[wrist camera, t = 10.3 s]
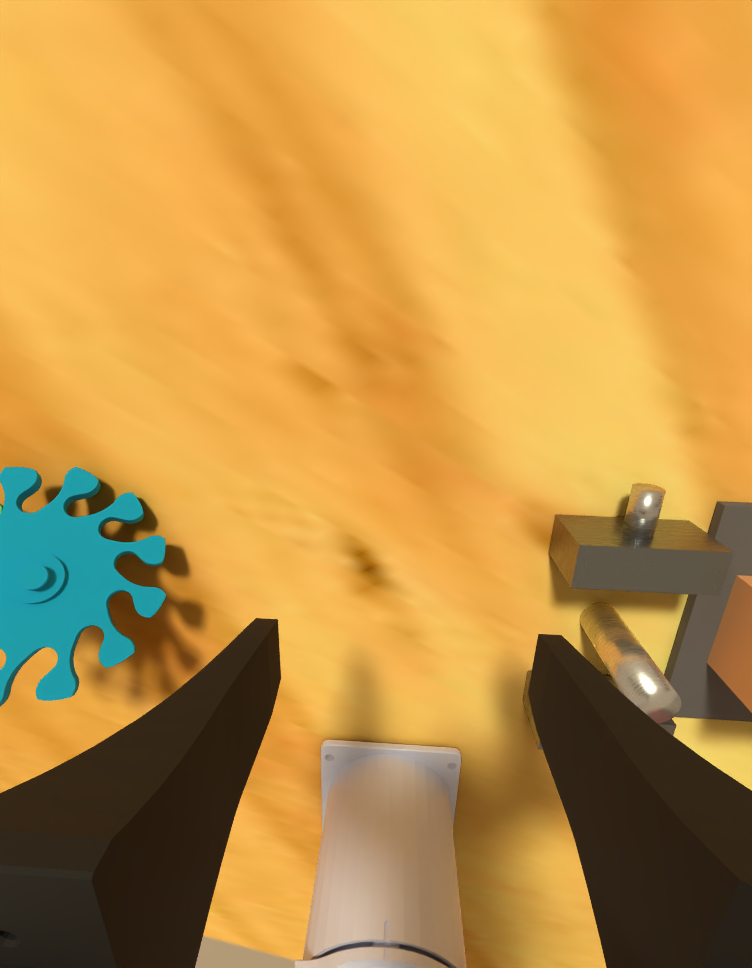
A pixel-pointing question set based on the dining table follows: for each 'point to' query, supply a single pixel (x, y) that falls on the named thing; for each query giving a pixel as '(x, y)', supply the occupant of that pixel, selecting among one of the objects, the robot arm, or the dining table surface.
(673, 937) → the robot arm
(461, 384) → the dining table surface
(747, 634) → the collar
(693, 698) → the panel
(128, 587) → the gear
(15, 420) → the dining table surface
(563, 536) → the vise
